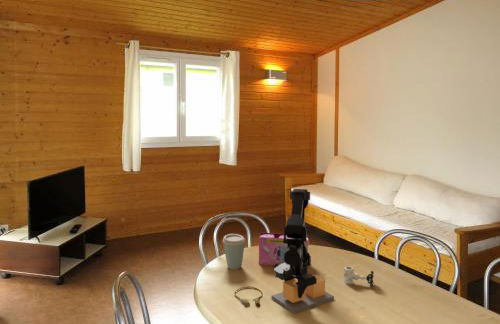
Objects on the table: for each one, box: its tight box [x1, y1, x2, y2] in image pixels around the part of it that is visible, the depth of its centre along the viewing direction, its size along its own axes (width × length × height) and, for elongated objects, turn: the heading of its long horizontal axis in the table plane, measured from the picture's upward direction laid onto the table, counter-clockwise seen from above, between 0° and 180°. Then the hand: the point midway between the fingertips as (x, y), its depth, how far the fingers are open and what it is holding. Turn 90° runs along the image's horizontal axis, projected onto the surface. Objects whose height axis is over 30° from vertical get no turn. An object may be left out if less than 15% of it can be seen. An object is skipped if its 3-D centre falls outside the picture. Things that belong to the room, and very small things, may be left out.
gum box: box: [258, 232, 310, 266], centre depth 191 cm, size 24×8×14 cm, turn 78°
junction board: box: [270, 274, 335, 314], centre depth 155 cm, size 14×20×7 cm
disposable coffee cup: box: [222, 233, 246, 270], centre depth 186 cm, size 11×11×15 cm
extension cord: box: [233, 286, 264, 307], centre depth 157 cm, size 12×16×2 cm
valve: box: [343, 266, 375, 287], centre depth 168 cm, size 7×7×12 cm
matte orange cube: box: [282, 278, 306, 303], centre depth 151 cm, size 6×6×6 cm
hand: (294, 294), depth 151 cm, fingers closed on matte orange cube, 6 cm apart
